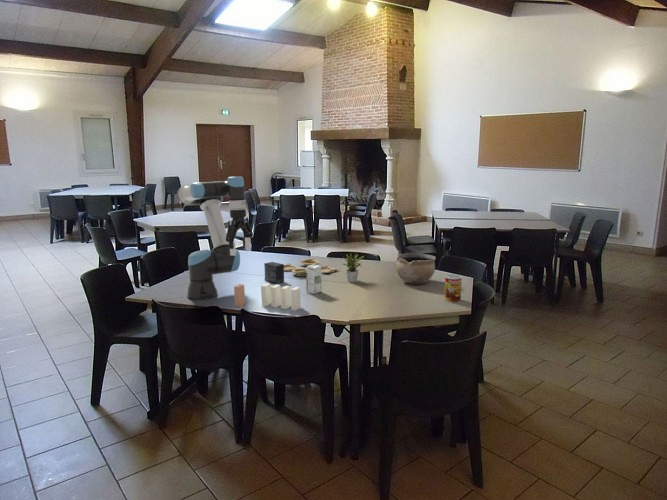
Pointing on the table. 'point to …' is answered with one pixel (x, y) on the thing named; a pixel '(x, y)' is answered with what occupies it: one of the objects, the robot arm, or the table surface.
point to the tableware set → (307, 262)
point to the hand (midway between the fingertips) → (241, 252)
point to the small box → (274, 272)
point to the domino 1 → (239, 295)
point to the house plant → (352, 268)
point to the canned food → (452, 288)
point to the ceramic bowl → (415, 267)
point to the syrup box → (313, 279)
